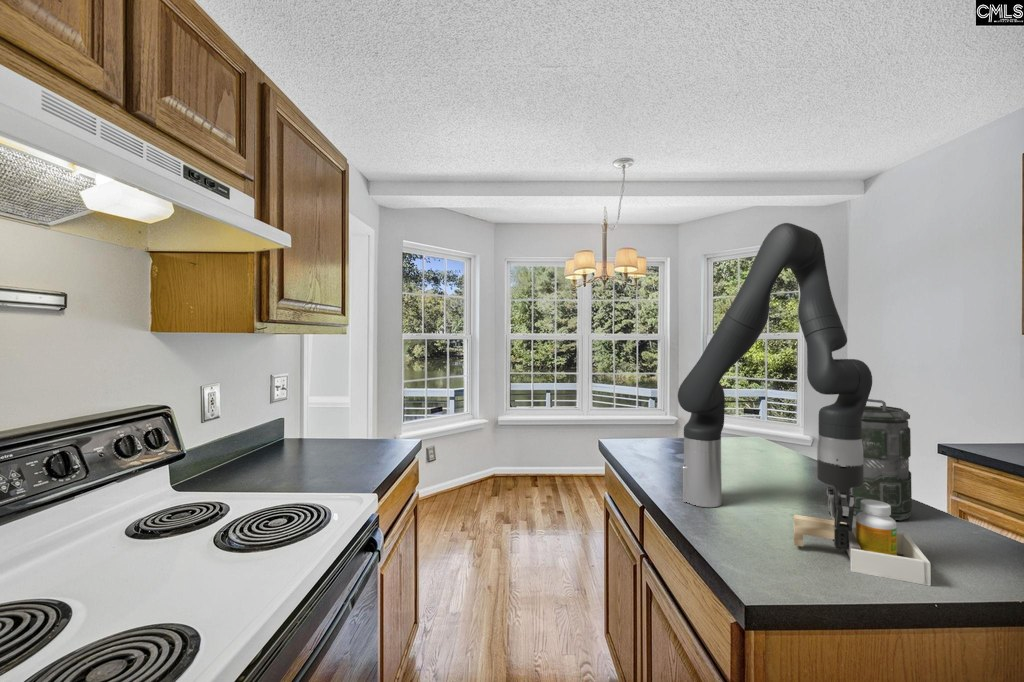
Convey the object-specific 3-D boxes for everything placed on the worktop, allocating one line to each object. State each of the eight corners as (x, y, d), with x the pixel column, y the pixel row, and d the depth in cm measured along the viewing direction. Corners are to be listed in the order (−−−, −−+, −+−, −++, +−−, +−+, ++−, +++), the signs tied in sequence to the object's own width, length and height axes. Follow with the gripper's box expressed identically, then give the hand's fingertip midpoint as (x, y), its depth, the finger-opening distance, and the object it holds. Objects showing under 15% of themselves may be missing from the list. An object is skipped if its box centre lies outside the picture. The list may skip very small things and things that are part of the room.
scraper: (795, 551, 91) (795, 524, 91) (792, 534, 99) (792, 509, 99) (860, 563, 86) (860, 534, 86) (851, 544, 94) (851, 517, 94)
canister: (817, 504, 119) (816, 397, 119) (856, 496, 125) (855, 394, 125) (886, 526, 105) (884, 404, 105) (926, 516, 111) (925, 400, 111)
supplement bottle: (899, 572, 84) (898, 511, 84) (856, 563, 88) (856, 505, 88) (894, 559, 89) (894, 501, 89) (854, 551, 93) (854, 495, 93)
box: (851, 571, 85) (851, 549, 85) (839, 542, 97) (838, 523, 97) (930, 585, 80) (930, 563, 80) (907, 553, 92) (906, 533, 92)
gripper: (813, 449, 99) (813, 529, 99) (821, 465, 87) (822, 556, 87) (855, 453, 96) (856, 535, 96) (871, 470, 83) (871, 565, 83)
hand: (840, 545), depth 91 cm, fingers closed on scraper, 2 cm apart
